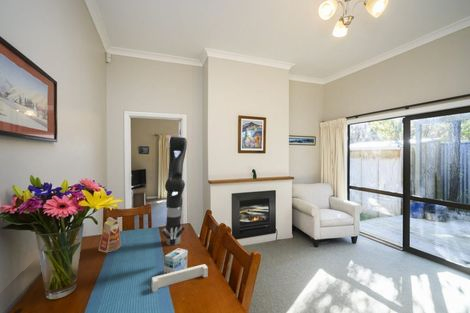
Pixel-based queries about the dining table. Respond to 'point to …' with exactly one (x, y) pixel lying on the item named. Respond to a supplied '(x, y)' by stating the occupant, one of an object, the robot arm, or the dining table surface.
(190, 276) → the board
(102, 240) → the milk carton
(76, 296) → the dining table surface
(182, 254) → the light bulb box
